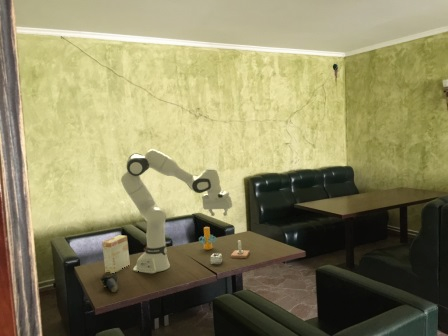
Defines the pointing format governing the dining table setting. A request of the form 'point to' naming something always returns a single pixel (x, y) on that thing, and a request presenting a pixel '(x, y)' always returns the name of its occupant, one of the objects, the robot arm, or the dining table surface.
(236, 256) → the shaft block
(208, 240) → the orange vase with loops
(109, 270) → the coffeecake box
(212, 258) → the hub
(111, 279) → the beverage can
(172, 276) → the dining table surface
